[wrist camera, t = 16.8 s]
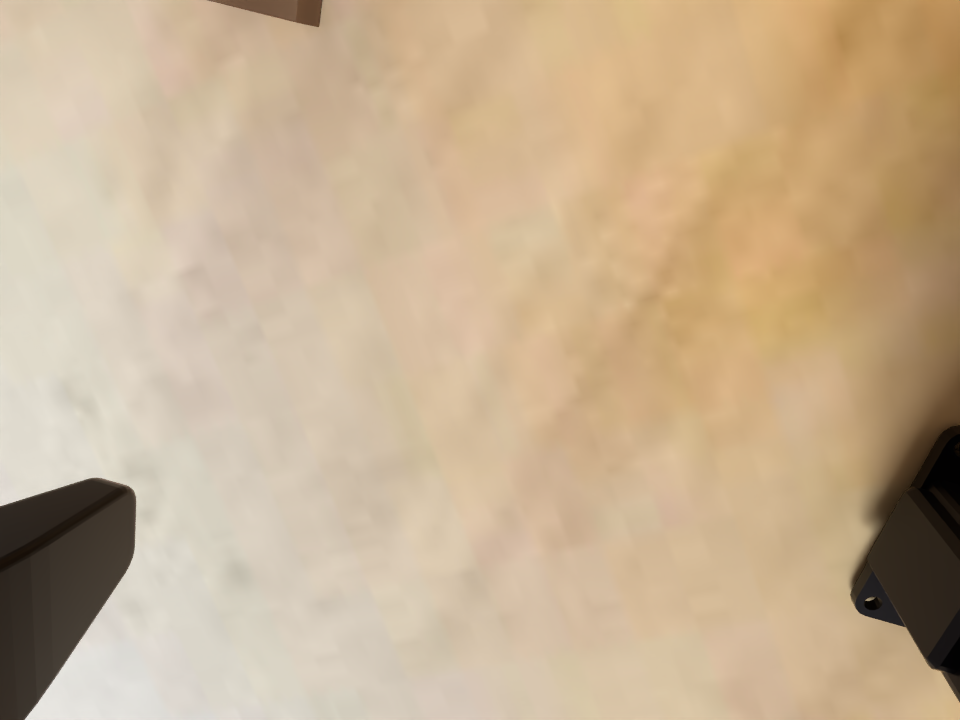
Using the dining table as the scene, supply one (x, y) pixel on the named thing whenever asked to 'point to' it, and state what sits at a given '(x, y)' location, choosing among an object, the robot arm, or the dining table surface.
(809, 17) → the dining table surface
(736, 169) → the dining table surface
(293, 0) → the walnut base board
